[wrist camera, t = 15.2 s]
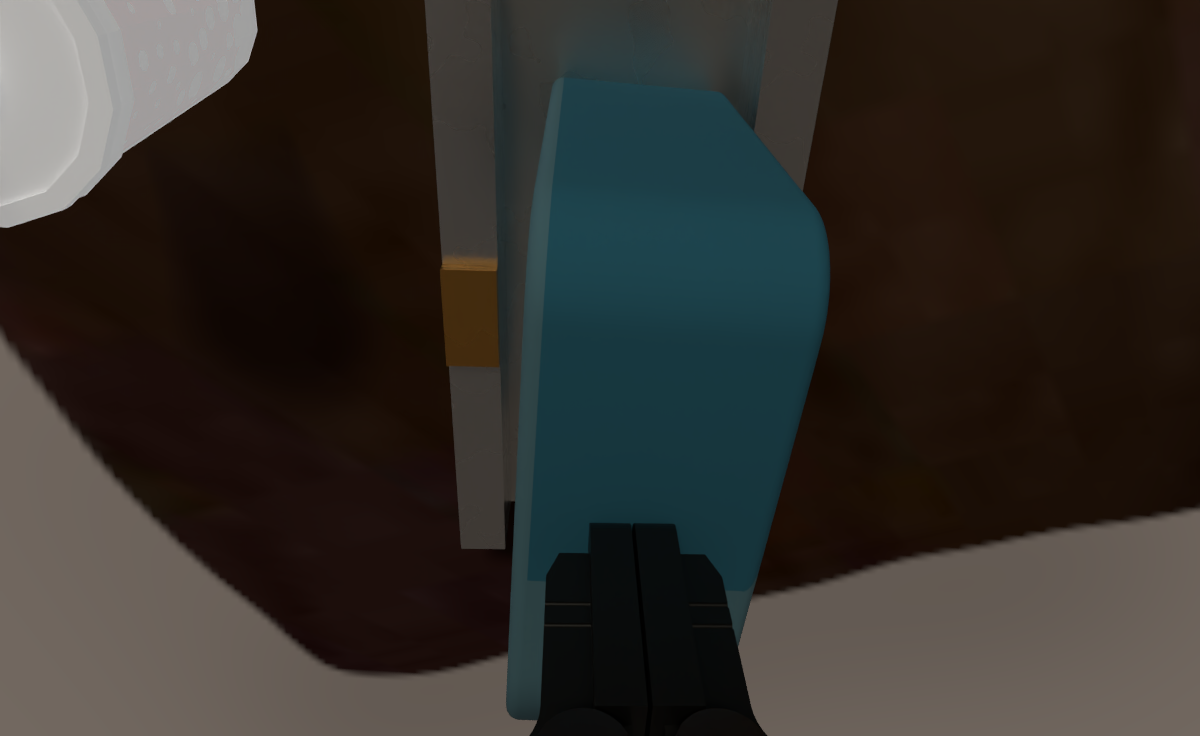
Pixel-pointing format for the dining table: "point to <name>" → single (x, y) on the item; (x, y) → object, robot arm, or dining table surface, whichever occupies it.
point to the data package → (657, 339)
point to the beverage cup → (101, 86)
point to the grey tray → (512, 151)
